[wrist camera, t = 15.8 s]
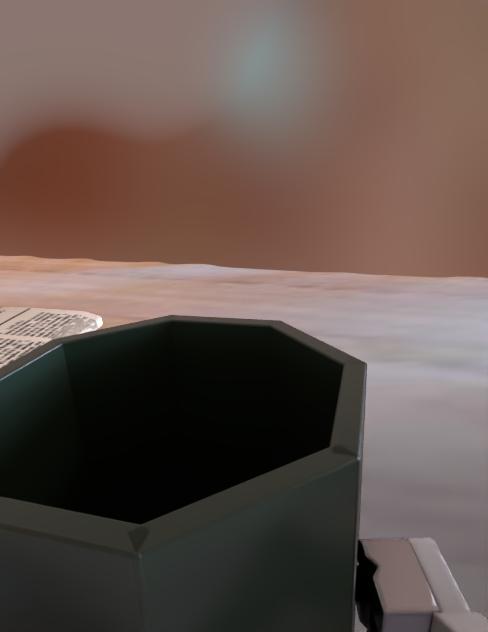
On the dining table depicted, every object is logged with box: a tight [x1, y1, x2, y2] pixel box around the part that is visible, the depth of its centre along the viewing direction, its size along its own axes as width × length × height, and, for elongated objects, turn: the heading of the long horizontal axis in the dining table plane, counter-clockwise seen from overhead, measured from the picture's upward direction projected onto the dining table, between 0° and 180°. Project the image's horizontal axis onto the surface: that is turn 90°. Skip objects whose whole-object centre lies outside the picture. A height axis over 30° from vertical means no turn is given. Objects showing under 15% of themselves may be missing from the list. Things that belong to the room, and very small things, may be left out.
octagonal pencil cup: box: [0, 315, 367, 632], centre depth 10 cm, size 7×7×12 cm
